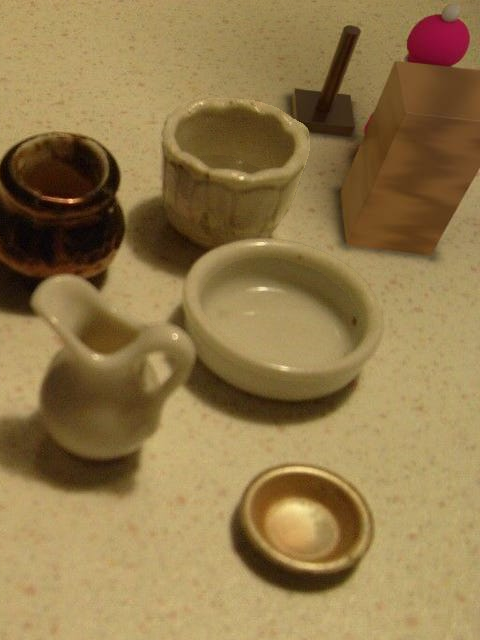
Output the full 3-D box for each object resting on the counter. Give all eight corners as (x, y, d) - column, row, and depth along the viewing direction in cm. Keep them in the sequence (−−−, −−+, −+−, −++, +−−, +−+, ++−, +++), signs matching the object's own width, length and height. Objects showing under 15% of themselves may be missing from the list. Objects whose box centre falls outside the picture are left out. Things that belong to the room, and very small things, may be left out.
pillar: (420, 202, 98) (488, 70, 85) (430, 256, 93) (504, 124, 80) (340, 192, 99) (394, 60, 86) (345, 245, 94) (405, 112, 80)
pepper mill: (350, 141, 105) (413, -16, 90) (410, 148, 105) (485, -9, 89) (355, 178, 101) (422, 19, 85) (418, 186, 100) (498, 27, 85)
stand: (346, 104, 110) (380, 17, 101) (351, 137, 106) (386, 49, 97) (291, 98, 111) (319, 10, 102) (293, 130, 107) (322, 42, 97)
